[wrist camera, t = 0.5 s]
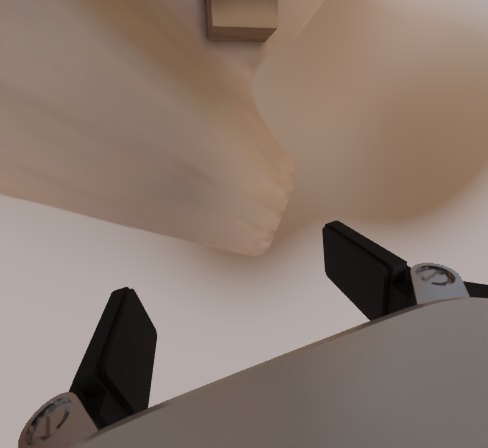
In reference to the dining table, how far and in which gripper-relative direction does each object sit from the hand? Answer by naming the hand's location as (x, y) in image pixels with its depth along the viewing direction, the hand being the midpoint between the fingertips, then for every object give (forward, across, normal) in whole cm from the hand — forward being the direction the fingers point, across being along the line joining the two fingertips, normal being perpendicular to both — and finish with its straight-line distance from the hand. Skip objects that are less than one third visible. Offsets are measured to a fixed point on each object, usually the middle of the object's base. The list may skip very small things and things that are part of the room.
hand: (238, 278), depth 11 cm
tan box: (+30, -11, -20) cm, 37 cm away
